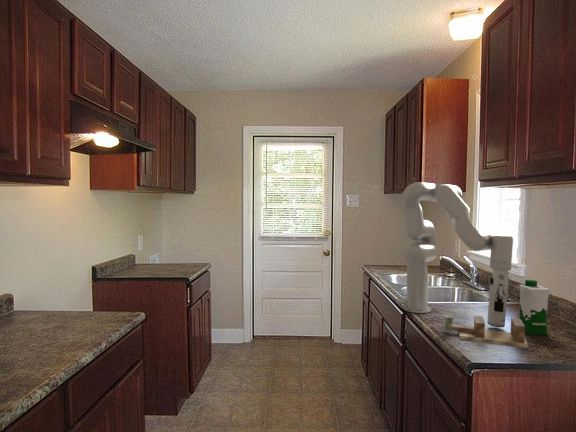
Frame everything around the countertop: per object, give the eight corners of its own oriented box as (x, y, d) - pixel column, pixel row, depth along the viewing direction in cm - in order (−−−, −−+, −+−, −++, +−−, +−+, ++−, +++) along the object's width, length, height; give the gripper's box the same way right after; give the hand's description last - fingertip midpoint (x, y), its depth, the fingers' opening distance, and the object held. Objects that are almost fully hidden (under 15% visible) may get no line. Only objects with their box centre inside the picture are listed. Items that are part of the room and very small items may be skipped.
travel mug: (508, 328, 155) (511, 278, 154) (490, 326, 156) (493, 277, 155) (502, 323, 161) (506, 275, 160) (485, 321, 162) (488, 274, 161)
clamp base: (459, 338, 146) (460, 319, 146) (459, 329, 157) (459, 311, 157) (527, 347, 138) (528, 327, 137) (522, 337, 149) (522, 318, 148)
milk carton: (536, 328, 160) (538, 279, 159) (551, 335, 151) (553, 284, 150) (515, 328, 160) (516, 279, 159) (528, 335, 151) (530, 284, 150)
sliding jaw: (445, 332, 149) (445, 319, 149) (445, 324, 158) (445, 312, 158) (484, 337, 144) (484, 323, 144) (482, 329, 153) (482, 316, 153)
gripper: (514, 269, 148) (511, 316, 149) (508, 262, 164) (505, 305, 165) (492, 267, 151) (489, 313, 152) (488, 261, 167) (485, 302, 168)
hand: (497, 308), depth 158 cm, fingers closed on travel mug, 6 cm apart
